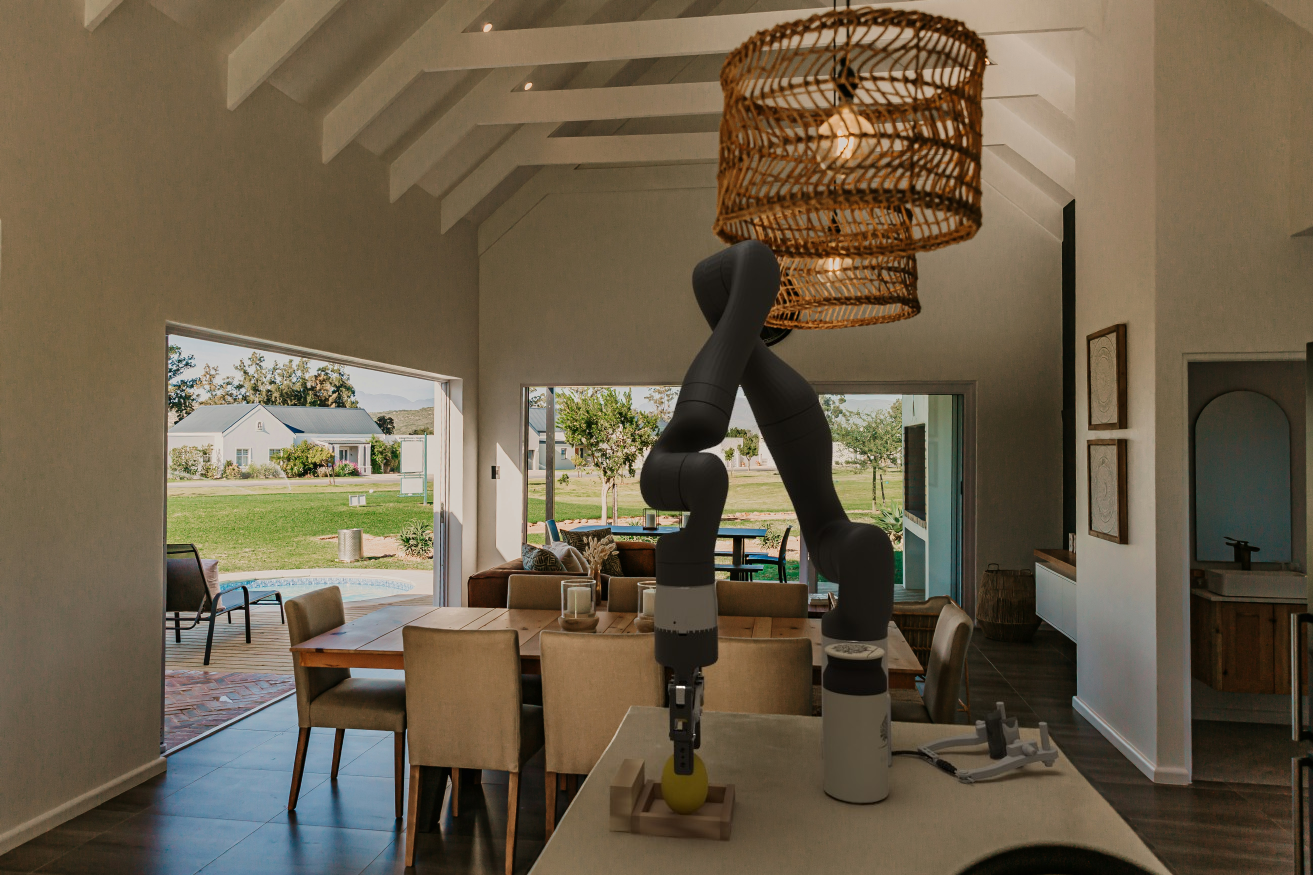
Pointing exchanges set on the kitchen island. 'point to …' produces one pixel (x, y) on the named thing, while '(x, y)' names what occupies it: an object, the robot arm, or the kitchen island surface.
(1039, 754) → the bike brake
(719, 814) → the walnut tray
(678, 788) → the lemon
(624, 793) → the oak stop
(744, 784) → the kitchen island surface
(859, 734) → the travel mug
